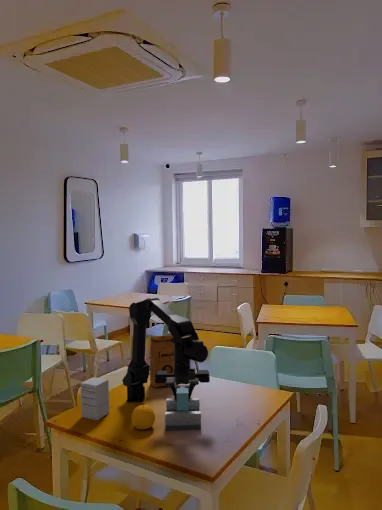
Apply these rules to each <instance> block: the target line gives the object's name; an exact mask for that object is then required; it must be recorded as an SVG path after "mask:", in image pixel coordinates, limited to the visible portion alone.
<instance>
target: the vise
mask: <svg viewBox="0 0 382 510" xmlns="http://www.w3.org/2000/svg"><path fill="white" fill-rule="evenodd" d="M201 412H202V411H201V410H200V408H199V409H191V410H182V411H177V410H167V409H166V410H165V412H164V416H165V417H164V430H165V431H186V430H189V431H192V430H194V431H195V430H199V431H200V430H202V413H201Z"/></svg>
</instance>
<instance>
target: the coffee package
mask: <svg viewBox="0 0 382 510" xmlns="http://www.w3.org/2000/svg"><path fill="white" fill-rule="evenodd" d="M172 338H173V336H172V335H171V334H168V335H167V334H166V335H155V336H150V347H149V359H150V360H149V366H150V369H149V373H150V375H149V382H150V384H151V385H152V387H154V388H159V387H161V388H162V386H163V387H170V386H169V385H166V382H165V383H155V374H156V372H157V371H167V374H174V343H173V342H170V340H171V339H172ZM175 385H178V384H176V383H175Z"/></svg>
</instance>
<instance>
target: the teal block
mask: <svg viewBox="0 0 382 510" xmlns="http://www.w3.org/2000/svg"><path fill="white" fill-rule="evenodd" d="M176 393H177V411H182V410H189V406H188V393H189V392H188V388H177V392H176Z"/></svg>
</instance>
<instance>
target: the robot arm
mask: <svg viewBox="0 0 382 510" xmlns="http://www.w3.org/2000/svg"><path fill="white" fill-rule="evenodd" d="M128 312H129V318H130V321H131V322H132V323H133V328H132V351H131V352H132V354H131V355H132V357H131V360H130V362H129V363H128V365H127V370H126V374H125V375H124V377H123V378H122V380H121V381H122V385H123V386H124V387H126V403H142V402H144V399H145V398H146V387H145V384H147V383H148V380H149V378H150V364H148V363H147V361H146V339H147V324H148V323H149V321H150V319H151V317H152V313H153V314H154V315H155V316H156V317H158V318H159V319H160V321H162V322H163V323H164V324H165V325H166V326H167V331H168V333H170V335H172V336H173V338H172V339H171V340H170V342H173V343H174V374H167V371H157V372H156V374H155V383H165V382H166V385H169V386H168V387H169V388H170V389H171V392H172V394H173V397H174V398H175V400H176V401H177V392H176V385H175V383H176V384H178V385H189V392H188V401H190V398H192V394H193V392H194V389H195V387H196V386H198V385H199V384H200V383H201V384H202V383H210V382H211V381H210V379H211V378H210V371H208V369H197V372H196V368H191V361H193V362H194V361H195V362H197V363H204V362H205V361H206V360H207V358H208V355H209V350H208V348H207V346H206V345H205V344H204V341H203V340H200V338H199V336H198V333H197V332H196V329H195V327H194V325H193V323H192V321H191V320H190V319H188V318H186V317H185V316H181V315H177V314H176V313H175V312H173V310H171V308H169V307H168V306H167V305H165V303H163V302H162V301H161V300H160V298H159V297H156V296H155V297H148V298H146V299H144V300H141V301H135V302H131V304H129V307H128Z"/></svg>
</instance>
